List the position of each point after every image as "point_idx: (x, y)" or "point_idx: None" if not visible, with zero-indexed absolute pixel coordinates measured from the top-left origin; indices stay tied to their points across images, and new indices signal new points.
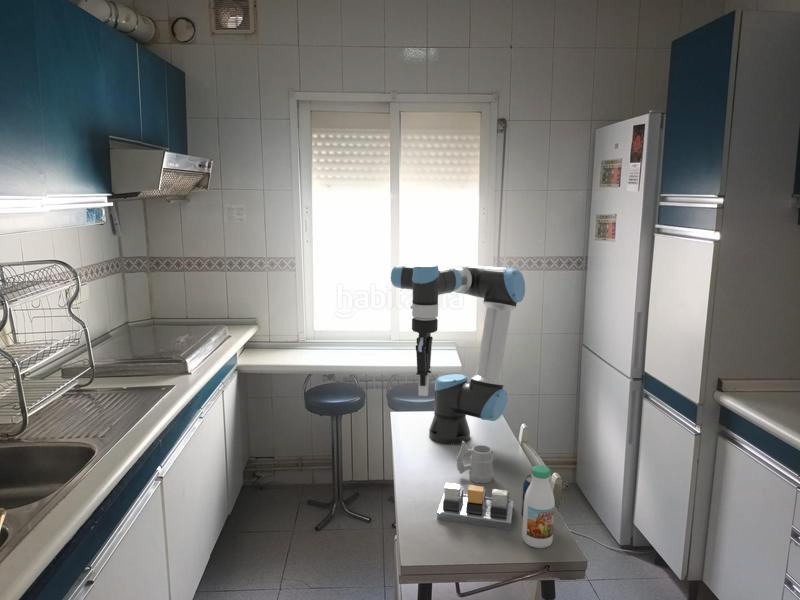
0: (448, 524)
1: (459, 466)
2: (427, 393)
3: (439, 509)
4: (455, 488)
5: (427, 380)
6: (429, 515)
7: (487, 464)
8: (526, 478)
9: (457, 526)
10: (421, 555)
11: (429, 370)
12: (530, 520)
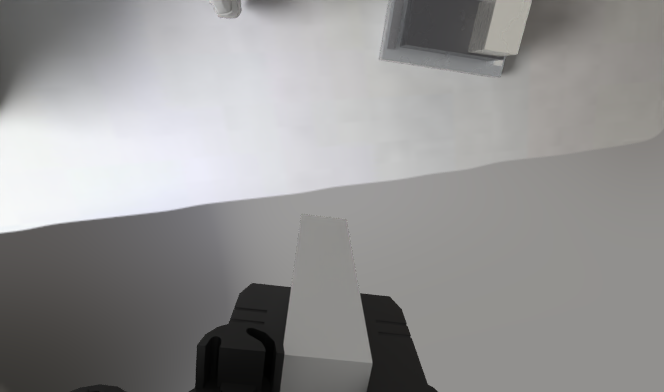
0: None
1: (239, 7)
2: (343, 228)
3: (483, 71)
4: (524, 13)
5: (359, 307)
6: (472, 98)
7: None
8: None
9: None
10: (642, 107)
11: (200, 381)
12: None
